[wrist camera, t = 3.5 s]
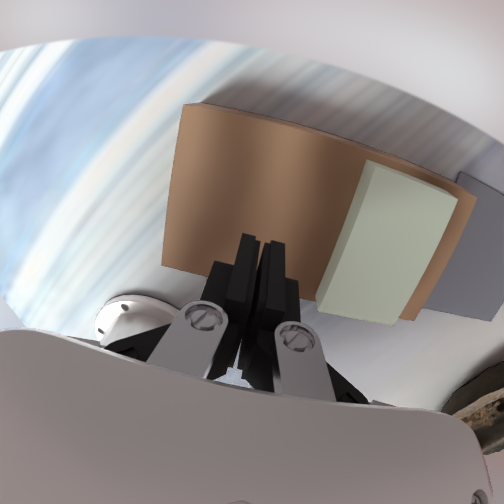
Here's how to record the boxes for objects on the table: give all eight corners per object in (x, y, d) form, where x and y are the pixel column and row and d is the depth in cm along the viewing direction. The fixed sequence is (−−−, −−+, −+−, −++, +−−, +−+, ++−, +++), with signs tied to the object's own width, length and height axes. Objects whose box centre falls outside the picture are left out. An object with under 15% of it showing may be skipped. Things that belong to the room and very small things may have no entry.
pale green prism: (445, 190, 17) (458, 199, 15) (387, 310, 22) (393, 325, 20) (366, 159, 17) (375, 166, 15) (315, 295, 22) (317, 311, 20)
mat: (544, 221, 21) (545, 222, 20) (490, 320, 27) (490, 321, 27) (459, 171, 20) (461, 172, 20) (399, 301, 26) (399, 302, 26)
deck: (451, 180, 20) (477, 197, 17) (399, 292, 26) (413, 320, 22) (199, 102, 20) (183, 104, 16) (176, 239, 25) (161, 265, 21)
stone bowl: (546, 370, 32) (562, 409, 24) (440, 437, 44) (447, 477, 36) (533, 307, 25) (564, 363, 17) (381, 407, 37) (388, 465, 29)
